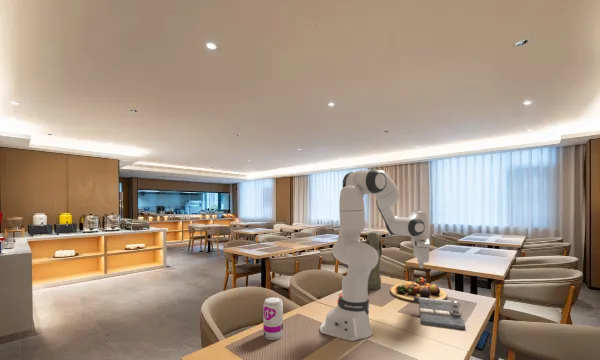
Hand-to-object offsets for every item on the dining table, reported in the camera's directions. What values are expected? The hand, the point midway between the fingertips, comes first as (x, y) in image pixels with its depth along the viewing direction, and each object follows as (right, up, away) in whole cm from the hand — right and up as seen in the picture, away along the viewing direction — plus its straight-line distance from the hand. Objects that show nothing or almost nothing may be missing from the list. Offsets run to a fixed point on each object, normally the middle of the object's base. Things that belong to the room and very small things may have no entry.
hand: (420, 267), depth 155 cm
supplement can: (-76, -20, -31) cm, 84 cm away
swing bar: (+4, -15, -10) cm, 18 cm away
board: (+5, -20, -12) cm, 24 cm away
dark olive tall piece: (-16, -24, +34) cm, 44 cm away
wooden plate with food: (+7, -23, +21) cm, 32 cm away
